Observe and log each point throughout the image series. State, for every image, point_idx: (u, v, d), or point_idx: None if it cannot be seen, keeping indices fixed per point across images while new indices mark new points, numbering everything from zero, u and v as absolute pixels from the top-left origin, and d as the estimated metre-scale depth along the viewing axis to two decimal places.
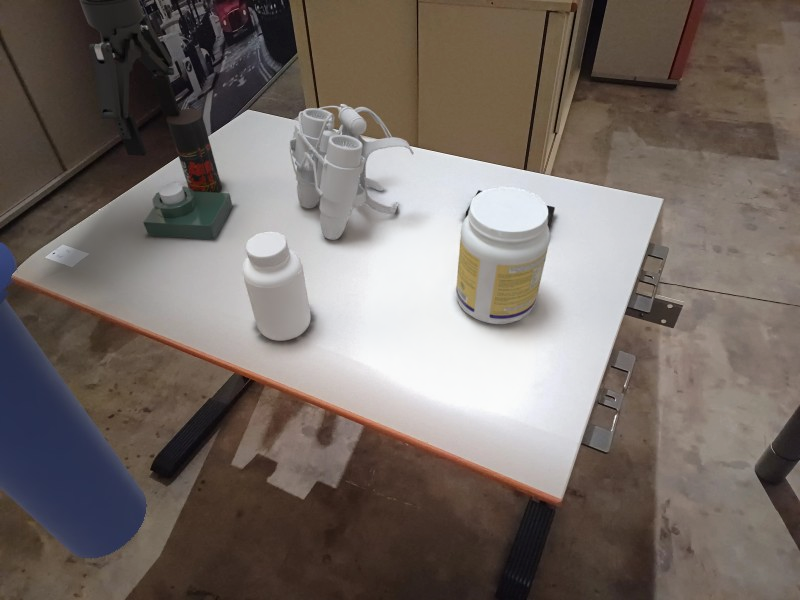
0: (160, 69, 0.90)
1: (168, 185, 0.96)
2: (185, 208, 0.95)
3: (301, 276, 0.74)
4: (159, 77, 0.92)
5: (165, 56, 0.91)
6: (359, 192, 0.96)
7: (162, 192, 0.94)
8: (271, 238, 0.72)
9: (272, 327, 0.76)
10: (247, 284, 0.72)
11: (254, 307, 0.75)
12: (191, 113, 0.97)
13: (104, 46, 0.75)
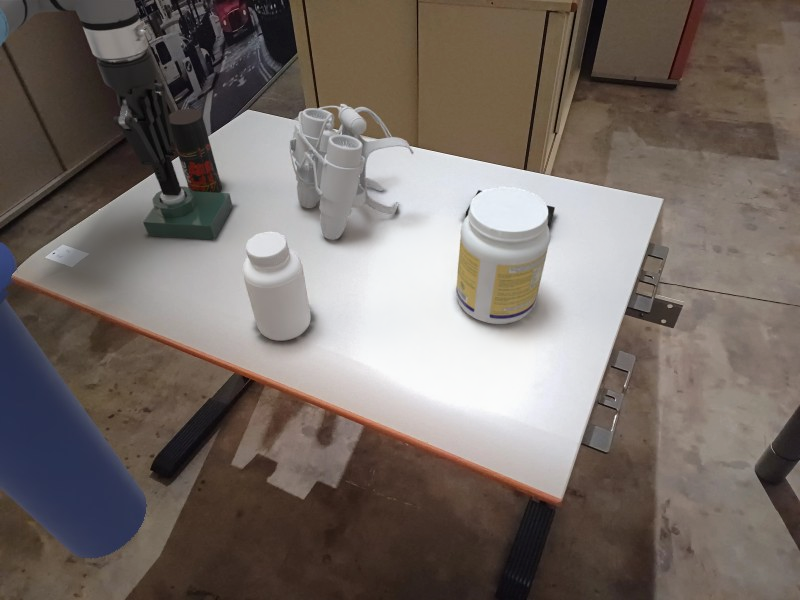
0: (163, 144, 0.90)
1: None
2: (185, 208, 0.95)
3: (301, 276, 0.74)
4: None
5: (169, 132, 0.91)
6: (359, 192, 0.96)
7: (163, 196, 0.95)
8: (271, 238, 0.72)
9: (272, 327, 0.76)
10: (247, 284, 0.72)
11: (254, 307, 0.75)
12: (191, 113, 0.97)
13: (128, 122, 0.80)
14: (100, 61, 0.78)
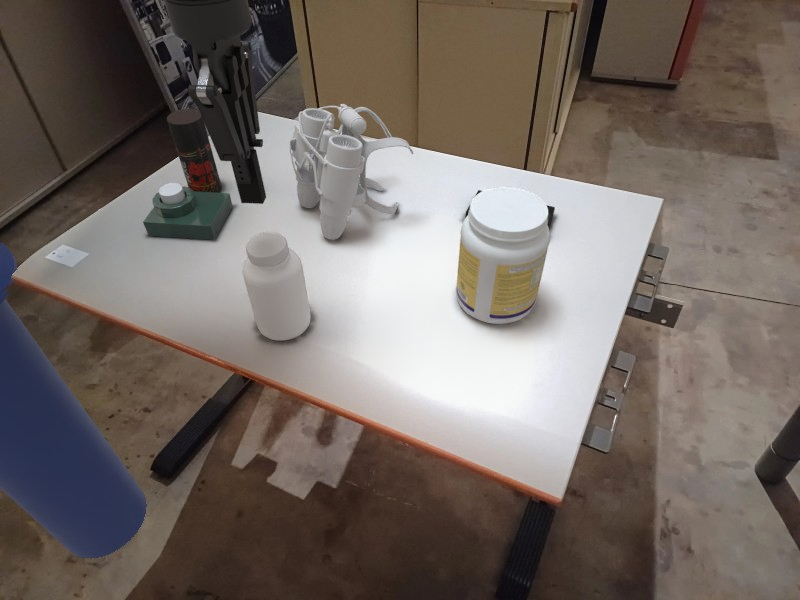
0: (247, 130, 0.62)
1: (168, 185, 0.96)
2: (185, 208, 0.95)
3: (301, 276, 0.74)
4: None
5: (254, 113, 0.63)
6: (359, 192, 0.96)
7: (162, 192, 0.94)
8: (271, 238, 0.72)
9: (272, 327, 0.76)
10: (247, 284, 0.72)
11: (254, 307, 0.75)
12: (191, 113, 0.97)
13: (210, 93, 0.52)
14: None
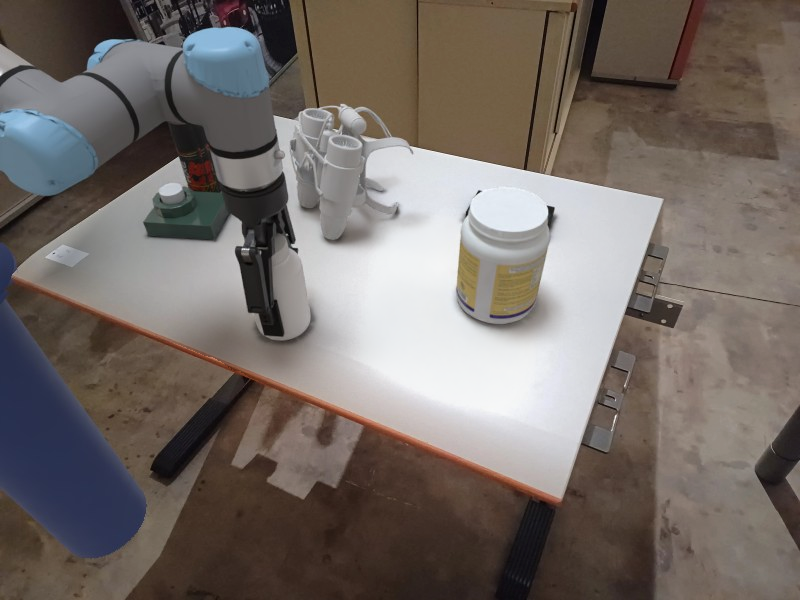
0: None
1: (168, 185, 0.96)
2: (185, 208, 0.95)
3: (301, 276, 0.74)
4: None
5: (291, 232, 0.78)
6: (359, 192, 0.96)
7: (162, 192, 0.94)
8: None
9: None
10: None
11: None
12: None
13: (253, 252, 0.63)
14: (226, 188, 0.62)
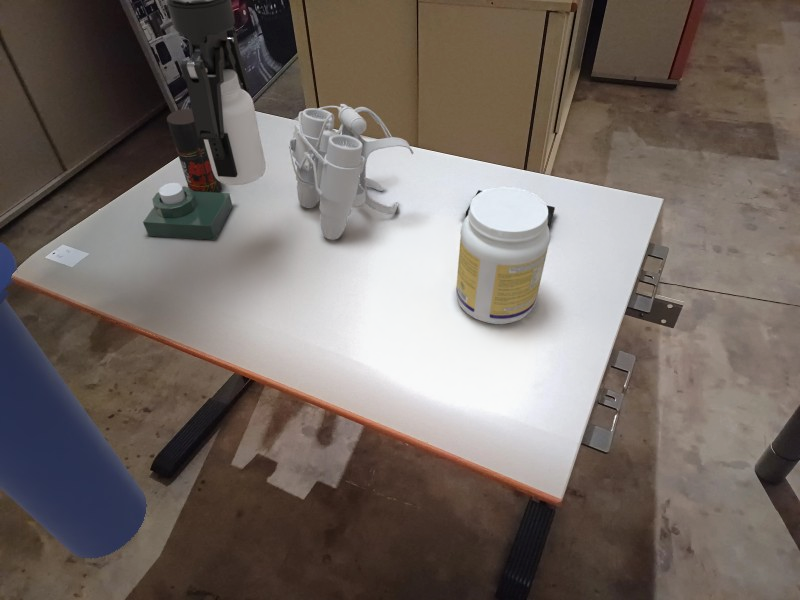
0: None
1: (168, 185, 0.96)
2: (185, 208, 0.95)
3: (252, 114, 0.77)
4: None
5: (244, 79, 0.81)
6: (359, 192, 0.96)
7: (162, 192, 0.94)
8: None
9: None
10: None
11: (208, 146, 0.78)
12: (191, 113, 0.97)
13: (198, 65, 0.66)
14: (172, 2, 0.66)
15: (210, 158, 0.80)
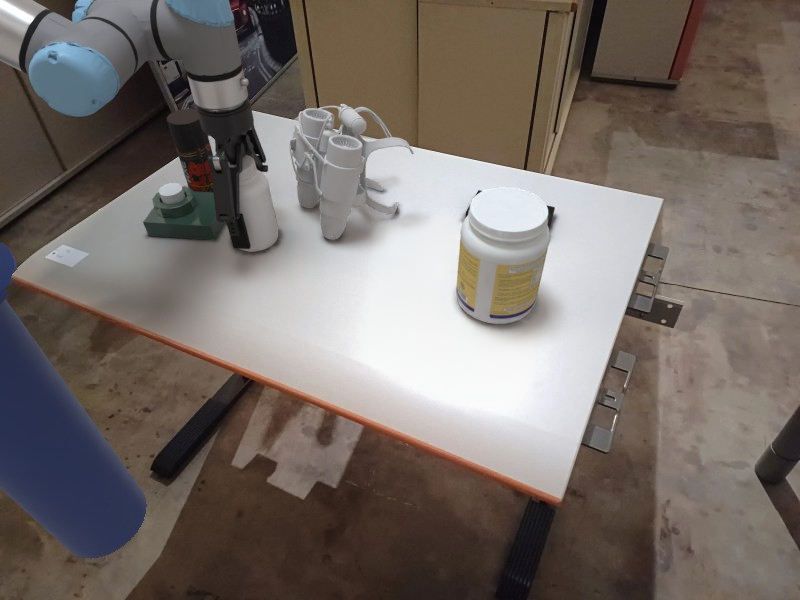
0: (257, 167, 0.92)
1: (168, 185, 0.96)
2: (185, 208, 0.95)
3: (267, 193, 0.88)
4: None
5: (261, 153, 0.92)
6: (359, 192, 0.96)
7: (162, 192, 0.94)
8: None
9: None
10: None
11: None
12: (191, 113, 0.97)
13: (222, 159, 0.77)
14: (201, 110, 0.77)
15: None
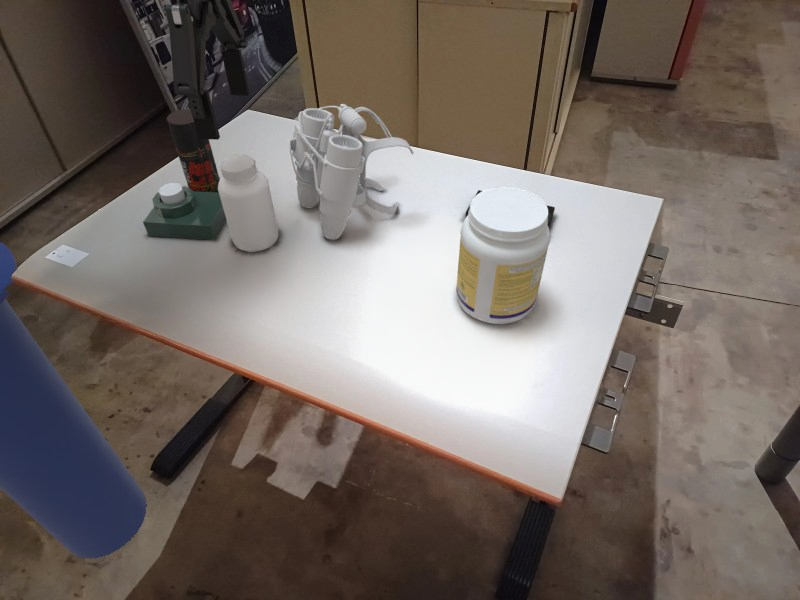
0: (233, 41, 0.78)
1: (168, 185, 0.96)
2: (185, 208, 0.95)
3: (267, 193, 0.88)
4: (230, 51, 0.80)
5: (237, 26, 0.79)
6: (359, 192, 0.96)
7: (162, 192, 0.94)
8: (242, 159, 0.86)
9: (244, 238, 0.91)
10: (222, 198, 0.87)
11: (228, 220, 0.90)
12: (191, 113, 0.97)
13: (183, 7, 0.64)
14: None
15: (230, 229, 0.91)
